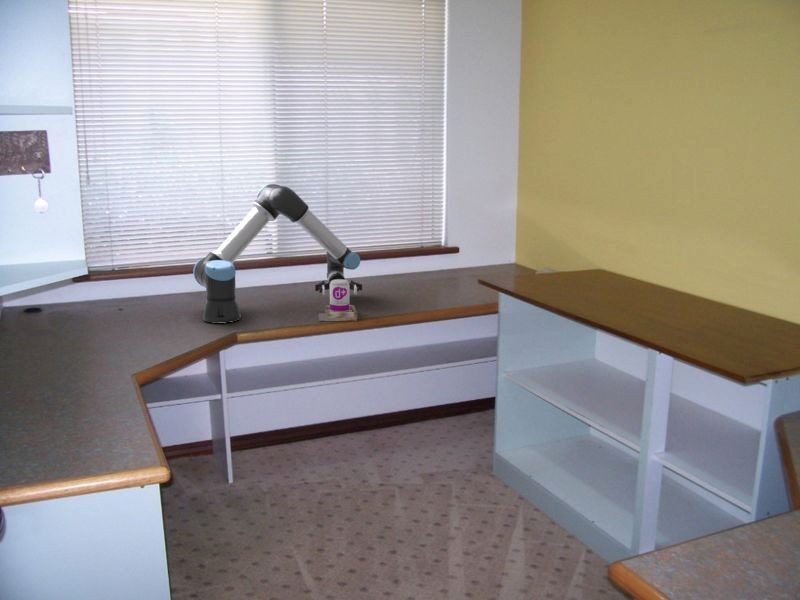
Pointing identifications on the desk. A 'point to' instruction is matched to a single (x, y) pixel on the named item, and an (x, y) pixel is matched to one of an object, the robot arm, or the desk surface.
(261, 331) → the desk surface
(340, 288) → the supplement can
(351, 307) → the dock
